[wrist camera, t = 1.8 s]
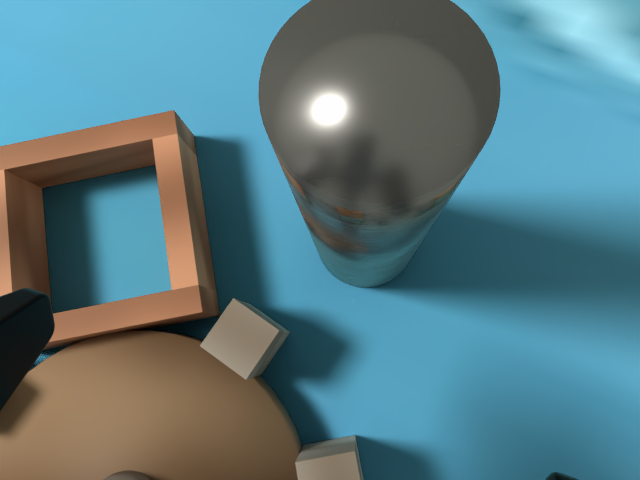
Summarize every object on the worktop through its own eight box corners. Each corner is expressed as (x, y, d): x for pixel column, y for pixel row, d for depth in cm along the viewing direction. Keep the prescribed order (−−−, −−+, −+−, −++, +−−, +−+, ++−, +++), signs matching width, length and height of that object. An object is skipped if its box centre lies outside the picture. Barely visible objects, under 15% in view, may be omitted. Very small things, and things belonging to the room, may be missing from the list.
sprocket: (409, 719, 18) (419, 793, 15) (-60, 798, 18) (-139, 884, 16) (293, 114, 23) (284, 80, 20) (-79, 191, 23) (-142, 169, 20)
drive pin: (361, 307, 21) (367, 253, 8) (297, 235, 22) (211, 80, 9) (434, 243, 21) (552, 93, 8) (369, 173, 22) (386, -61, 9)
